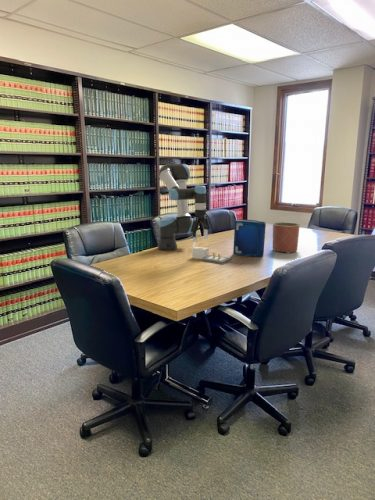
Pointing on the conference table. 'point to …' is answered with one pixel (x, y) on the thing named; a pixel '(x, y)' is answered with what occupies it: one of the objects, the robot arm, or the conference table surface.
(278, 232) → the planter
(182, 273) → the conference table surface
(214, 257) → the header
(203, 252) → the block
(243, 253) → the book
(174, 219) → the robot arm
